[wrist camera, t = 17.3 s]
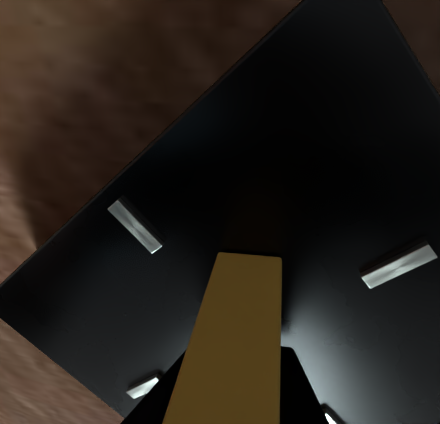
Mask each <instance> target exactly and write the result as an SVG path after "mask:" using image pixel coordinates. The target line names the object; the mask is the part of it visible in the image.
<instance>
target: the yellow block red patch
mask: <svg viewBox="0 0 440 424" xmlns="http://www.w3.org/2000/svg"><path fill="white" fill-rule="evenodd" d="M281 294H282V260H281V258H280V257H271V256H260V255H248V254H237V253H225V252H219V253H218V255H217V258H216V261H215V264H214V267H213V270H212V273H211V276H210V279H209V282H208V285H207V288H206V291H205V294H204V297H203V300H202V303H201V306H200V310H199V313H198V316H197V319H196V322H195V325H194V328H193V331H192V334H191V337H190V340H189V343H188V346H187V349H186V352H185V355H184V359H183V362H182V365H181V368H180V371H179V374H178V377H177V380H176V383H175V386H174V389H173V392H172V395H171V398H170V401H169V404H168V407H167V411H166V414H165V417H164V420H163V423H162V424H280V360H281Z"/></svg>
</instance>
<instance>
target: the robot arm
mask: <svg viewBox="0 0 440 424" xmlns="http://www.w3.org/2000/svg"><path fill="white" fill-rule="evenodd" d="M185 352H186V350H185V351H184V352H183V354H182V355H181V356H180V357H179V358H178V359H177V360H176V361H175V363H174V364H173V365H172V366H171V367H170V368H169V369H168V370H167V372H166V373H165V374H164V375H163V376H162V377H161V378H160V380H159V381H158V382H157V383H156V384H155V385H154V386H153V387H152V389H151V390H150V391H149V392H148V393H147V394H146V395H145V396H144V398H143V399H142V400H141V401H140V402H139V403H138V404H137V405H136V407H135V408H134V409H133V410H132V411H131V412H130V413H129V415H128V416H127V417H126V418H125V419H124V420H123V421H122V422H121V424H162V423H163V420H164V417H165V414H166V411H167V407H168V404H169V401H170V398H171V395H172V392H173V389H174V386H175V383H176V380H177V377H178V374H179V371H180V368H181V365H182V362H183V359H184V355H185ZM280 424H329V422H328V420H327V417H326V415H325V413H324V411H323V409H322V407H321V405H320V403H319V401H318V399H317V397H316V394H315V392H314V390H313V388H312V386H311V384H310V382H309V380H308V378H307V376H306V373H305V371H304V369H303V367H302V365H301V363H300V361H299V359H298V357H297V355H296V353H295V351H294V349H293V348H291V347H285V346H281V360H280Z"/></svg>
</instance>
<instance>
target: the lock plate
mask: <svg viewBox="0 0 440 424" xmlns="http://www.w3.org/2000/svg"><path fill="white" fill-rule="evenodd" d="M219 252H225V253H237V254H248V255H260V256H271V257H280V258H281V260H282V294H281V346H285V347H291V348H293V349H294V351H295V353H296V355H297V357H298V359H299V361H300V363H301V365H302V367H303V369H304V371H305V373H306V376H307V378H308V380H309V382H310V384H311V386H312V388H313V390H314V392H315V394H316V397H317V399H318V401H319V403H320V405H321V407H322V409H323V411H324V413H325V415H326V417H327V420H328V422H329V424H436V423H440V95H439V94H438V92H437V91H436V89H435V87H434V86H433V84H432V82H431V81H430V79H429V77H428V76H427V74H426V72H425V71H424V69H423V68H422V66H421V64H420V63H419V61H418V59H417V58H416V56H415V54H414V53H413V51H412V49H411V48H410V46H409V45H408V43H407V41H406V40H405V38H404V36H403V35H402V33H401V31H400V30H399V28H398V26H397V25H396V23H395V21H394V20H393V18H392V17H391V15H390V13H389V12H388V10H387V8H386V7H385V5H384V3H383V2H382V0H302V1H301V2H300V3H299V4H298V5H297V6H296V7H295V8H294V9H293V10H291V11H290V12H289V13H288V14H287V15H286V16H285V17H284V18H283V19H282V20H281V21H280V22H279V23H278V24H277V25H276V26H274V27H273V28H272V29H271V30H270V31H269V32H268V33H267V34H266V35H265V36H264V37H263V38H262V39H261V40H260V41H258V42H257V43H256V44H255V45H254V46H253V47H252V48H251V49H250V50H249V51H248V52H247V53H246V54H245V55H244V56H243V57H241V58H240V59H239V60H238V61H237V62H236V63H235V64H234V65H233V66H232V67H231V68H230V69H229V70H228V71H227V72H226V73H224V74H223V75H222V76H221V77H220V78H219V79H218V80H217V81H216V82H215V83H214V84H213V85H212V86H211V87H210V88H209V89H207V90H206V91H205V92H204V93H203V94H202V95H201V96H200V97H199V98H198V99H197V100H196V101H195V102H194V103H193V104H191V105H190V106H189V107H188V108H187V109H186V110H185V111H184V112H183V113H182V114H181V115H180V116H179V117H178V118H177V119H176V120H174V121H173V122H172V123H171V124H170V125H169V126H168V127H167V128H166V129H165V130H164V131H163V132H162V133H161V134H160V135H159V136H157V137H156V138H155V139H154V140H153V141H152V142H151V143H150V144H149V145H148V146H147V147H146V148H145V149H144V150H143V151H142V152H140V153H139V154H138V155H137V156H136V157H135V158H134V159H133V160H132V161H131V162H130V163H129V164H128V165H127V166H126V167H124V168H123V169H122V170H121V171H120V172H119V173H118V174H117V175H116V176H115V177H114V178H113V179H112V180H111V181H110V182H109V183H107V184H106V185H105V186H104V187H103V188H102V189H101V190H100V191H99V192H98V193H97V194H96V195H95V196H94V197H93V198H92V199H90V200H89V201H88V202H87V203H86V204H85V205H84V206H83V207H82V208H81V209H80V210H79V211H78V212H77V213H76V214H75V215H73V216H72V217H71V218H70V219H69V220H68V221H67V222H66V223H65V224H64V225H63V226H62V227H61V228H60V229H59V230H57V231H56V232H55V233H54V234H53V235H52V236H51V237H50V238H49V239H48V240H47V241H46V242H45V243H44V244H43V245H42V246H40V247H39V248H38V249H37V250H36V251H35V252H34V253H33V254H32V255H31V256H30V257H29V258H28V259H27V260H26V261H25V262H23V263H22V264H21V265H20V266H19V267H18V268H17V269H16V270H15V271H14V272H13V273H12V274H11V275H10V276H9V277H8V278H6V279H5V280H4V281H3V282H2V283H1V284H0V318H1V319H2V320H3V321H5V322H6V323H7V324H8V325H9V326H11V327H12V328H13V329H14V330H16V331H17V332H18V333H19V334H21V335H22V336H23V337H24V338H26V339H27V340H28V341H29V342H31V343H32V344H33V345H34V346H36V347H37V348H38V349H39V350H40V351H42V352H43V353H44V354H45V355H47V356H48V357H49V358H50V359H52V360H53V361H54V362H55V363H57V364H58V365H59V366H60V367H62V368H63V369H64V370H65V371H66V372H68V373H69V374H70V375H71V376H73V377H74V378H75V379H76V380H78V381H79V382H80V383H81V384H83V385H84V386H85V387H86V388H88V389H89V390H90V391H91V392H92V393H94V394H95V395H96V396H97V397H99V398H100V399H101V400H102V401H104V402H105V403H106V404H107V405H109V406H110V407H111V408H112V409H114V410H115V411H116V412H117V413H118V414H120V415H121V416H122V417H123V418H126V417H127V416H128V415H129V413H130V412H131V411H132V410H133V409H134V408H135V407H136V405H137V404H138V403H139V402H140V401H141V400H142V399H143V398H144V396H145V395H146V394H147V393H148V392H149V391H150V390H151V389H152V387H153V386H154V385H155V384H156V383H157V382H158V381H159V380H160V378H161V377H162V376H163V375H164V374H165V373H166V372H167V370H168V369H169V368H170V367H171V366H172V365H173V364H174V363H175V361H176V360H177V359H178V358H179V357H180V356H181V355H182V354H183V352H184V351H185V350H186V349H187V346H188V343H189V340H190V337H191V334H192V331H193V328H194V325H195V322H196V319H197V316H198V313H199V310H200V306H201V303H202V300H203V297H204V294H205V291H206V288H207V285H208V282H209V279H210V276H211V273H212V270H213V267H214V264H215V261H216V258H217V255H218V253H219Z"/></svg>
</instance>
